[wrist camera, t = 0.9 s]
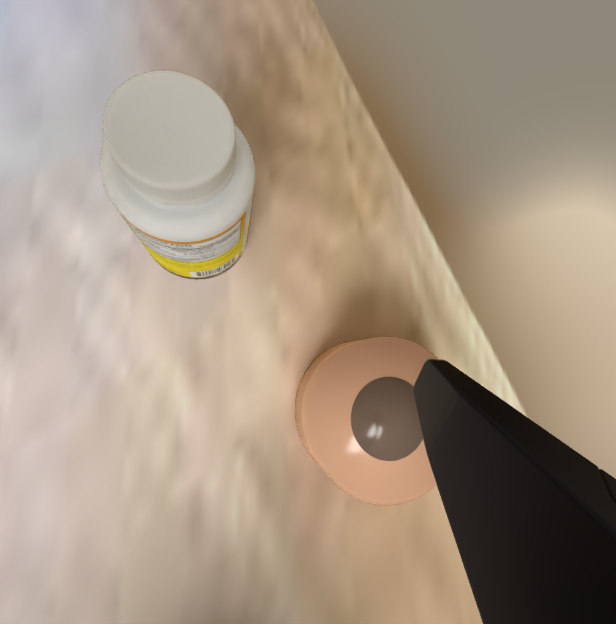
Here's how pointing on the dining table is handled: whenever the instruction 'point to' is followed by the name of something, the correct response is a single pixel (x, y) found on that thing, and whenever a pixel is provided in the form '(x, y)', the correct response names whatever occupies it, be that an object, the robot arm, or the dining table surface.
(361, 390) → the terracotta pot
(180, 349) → the dining table surface
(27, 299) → the dining table surface
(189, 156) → the supplement bottle
